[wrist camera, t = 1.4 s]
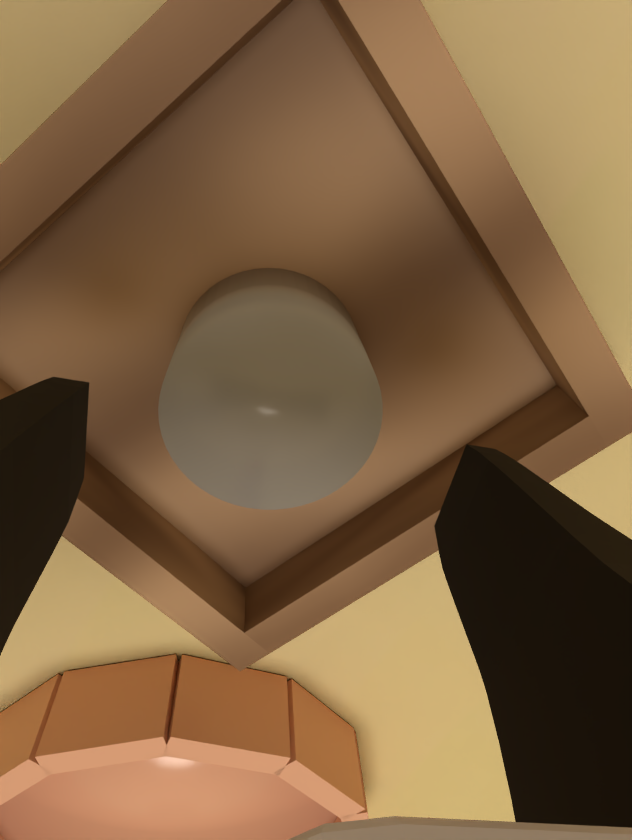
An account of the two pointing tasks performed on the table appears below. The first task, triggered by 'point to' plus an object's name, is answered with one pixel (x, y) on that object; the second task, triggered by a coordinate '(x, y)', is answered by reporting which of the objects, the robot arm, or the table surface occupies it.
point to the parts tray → (304, 253)
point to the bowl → (174, 756)
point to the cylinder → (269, 392)
